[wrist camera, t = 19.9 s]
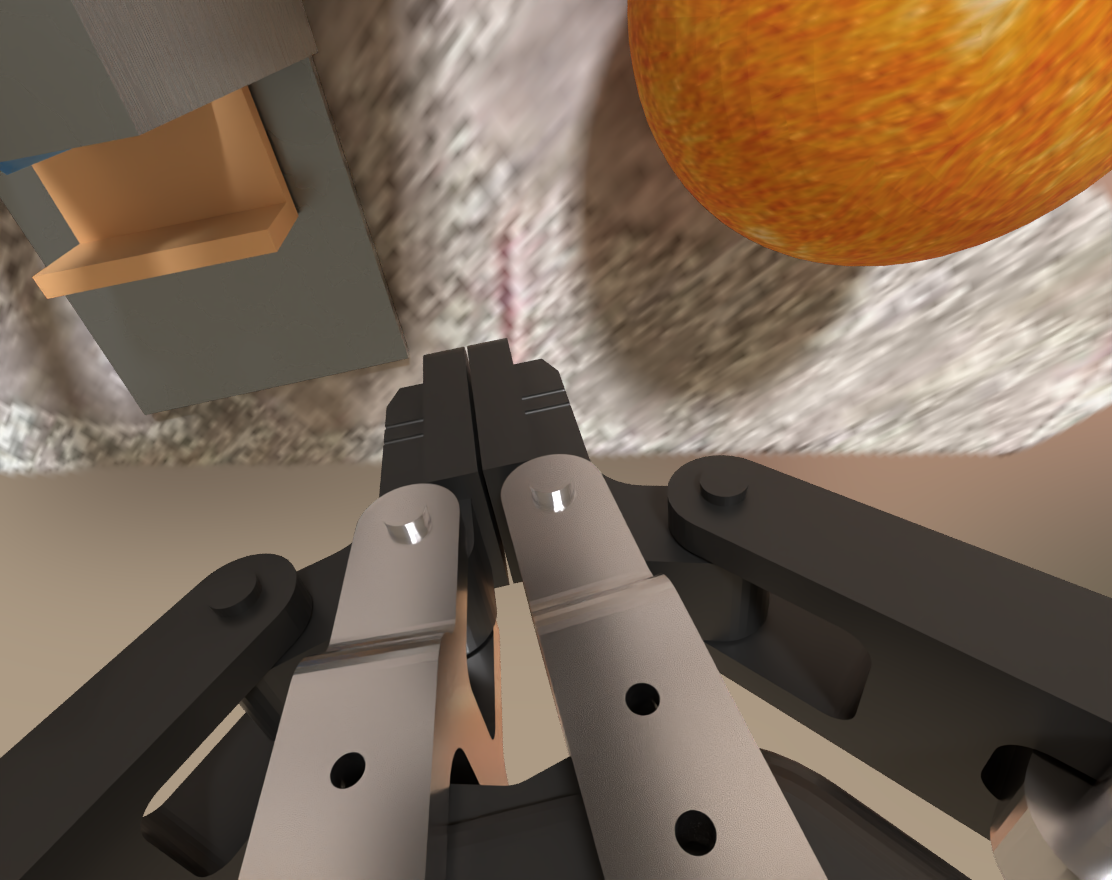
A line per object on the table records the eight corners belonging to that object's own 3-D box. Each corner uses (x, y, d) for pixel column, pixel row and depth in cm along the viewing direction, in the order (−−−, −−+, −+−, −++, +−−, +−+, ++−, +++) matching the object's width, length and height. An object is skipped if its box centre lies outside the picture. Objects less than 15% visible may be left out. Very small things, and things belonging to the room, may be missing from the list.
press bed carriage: (-163, -184, 22) (-319, -233, 17) (123, -230, 22) (45, -290, 18) (102, 255, 31) (47, 299, 27) (298, 215, 32) (277, 251, 27)
